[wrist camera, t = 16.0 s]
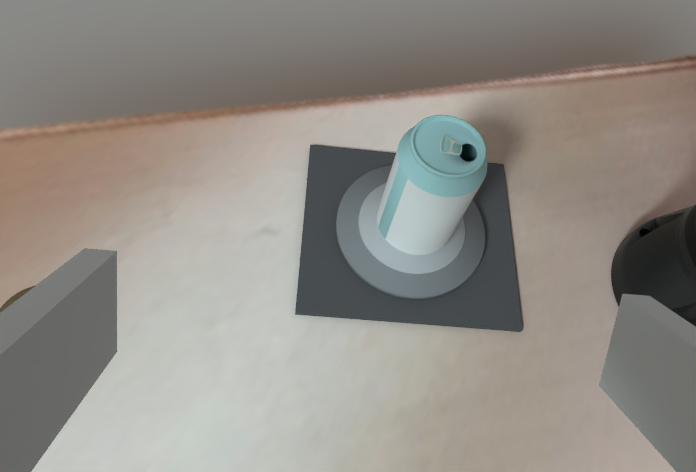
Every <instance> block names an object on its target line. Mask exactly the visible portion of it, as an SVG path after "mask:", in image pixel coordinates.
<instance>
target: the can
mask: <svg viewBox="0 0 696 472" xmlns="http://www.w3.org/2000/svg"><path fill="white" fill-rule="evenodd" d="M486 173H487V158H486V145H485V142H484V140H483V138H482V136H481V135H480V133H479V132H478V131H477V130H476V129H475V128H474V127H473V126H472V125H470V124H469V123H467V122H466V121H464V120H462V119H459V118H457V117H453V116H448V115H435V116H431V117H428V118H425V119H423V120H422V121H420V122H419V123H418V124H417V125H416V126H415V127H413V128H411V129H410V130H409V131H408V132H407V133H406V134H405V135H404V136H403V137H402V139H401V141H400V143H399V146H398V149H397V152H396V155H395V158H394V162H393V165H392V168H391V171H390V174H389V177H388V180H387V183H386V186H385V190H384V193H383V196H382V199H381V202H380V205H379V208H378V212H377V224H378V227H379V230H380V232H381V234H382V235H383V237H384V238H385V240H386V241H387V242H388V243H389V244H390V245H392V246H393V247H395V248H396V249H398V250H400V251H402V252H404V253H408V254H412V255H427V254H431V253H434V252H436V251H438V250H440V249H441V248H443V247H444V246H445V245H446V243H447V242H448V241H449V239H450V237H451V236H452V234H453V232H454V230H455V229H456V227H457V225H458V224H459V222H460V220H461V218H462V217H463V215H464V213H465V212H466V210H467V208H468V206H469V205H470V203H471V201H472V199H473V198H474V196H475V194H476V193H477V191H478V189H479V187H480V186H481V184H482V182H483V180H484V178H485V176H486Z"/></svg>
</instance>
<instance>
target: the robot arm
mask: <svg viewBox="0 0 696 472" xmlns="http://www.w3.org/2000/svg"><path fill="white" fill-rule="evenodd" d="M611 279H612V286H613V291H614V295H615V298H616V301H617V303H618V306H619V309H618V313H617V317H616V321H615V325H614V329H613V333H612V337H611V341H610V345H609V349H608V353H607V356H606V360H605V364H604V368H603V372H602V376H601V380H600V384H599V386H600V387H601V388H602V389H603V390H604V392H605V393H606V394H607V395H608V396H609V397H610V398H611V399H612V400H613V402H614V403H615V404H616V405H617V406H618V407H619V408H620V409H621V410H622V412H623V413H624V414H625V415H626V416H627V417H628V418H629V419H630V420H631V422H632V423H633V424H634V425H635V426H636V427H637V428H638V429H639V430H640V432H641V433H642V434H643V435H644V436H645V437H646V438H647V439H648V440H649V442H650V443H651V444H652V445H653V446H654V447H655V448H656V449H657V450H658V452H659V453H660V454H661V455H662V456H663V457H664V458H665V459H666V460H667V462H668V463H669V464H670V465H671V466H672V467H673V468H674V469H675V470H676V472H696V205H695V206H692V207H688V208H685V209H682V210H679V211H676V212H673V213H670V214H667V215H664V216H661V217H658V218H655V219H652V220H650V221H648V222H646V223H644V224H643V225H641V226H640V227H638V228H637V229H636V230H635V231H634V232H633V233H632V234H630V235H629V236H628V237H627V238H626V239H625V240H624V241H623V242H622V243H621V245H620V246H619V247H618V249H617V251H616V253H615V256H614V259H613V263H612V270H611ZM116 352H117V251H110V250H98V249H86V248H85V249H84V250H82V251H81V252H80V253H78V254H77V255H76V256H74V257H73V258H72V259H70V260H69V261H68V262H66V263H65V264H64V265H62V266H61V267H60V268H59V269H57V270H56V271H55V272H53V273H52V274H51V275H49V276H48V277H47V278H45V279H44V280H43V281H41V282H40V283H39V284H37V285H36V286H35V287H34V288H32V289H31V290H30V291H28V292H27V293H26V294H24V295H23V296H22V297H20V298H19V299H18V300H16V301H15V302H14V303H12V304H11V305H10V306H8V307H7V308H6V309H5V310H3V311H2V312H1V313H0V472H31V471H32V469H33V468H34V467H35V465H36V464H37V463H38V461H39V460H40V458H41V457H42V456H43V454H44V453H45V451H46V450H47V449H48V447H49V446H50V444H51V443H52V442H53V440H54V439H55V437H56V436H57V435H58V433H59V432H60V430H61V429H62V428H63V426H64V425H65V423H66V422H67V421H68V419H69V418H70V416H71V415H72V414H73V412H74V411H75V409H76V408H77V407H78V405H79V404H80V402H81V401H82V400H83V398H84V397H85V395H86V394H87V393H88V391H89V390H90V389H91V387H92V386H93V384H94V383H95V382H96V380H97V379H98V377H99V376H100V375H101V373H102V372H103V370H104V369H105V368H106V366H107V365H108V363H109V362H110V361H111V359H112V358H113V356H114V355H115V354H116Z"/></svg>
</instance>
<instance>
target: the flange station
mask: <svg viewBox="0 0 696 472" xmlns="http://www.w3.org/2000/svg"><path fill="white" fill-rule="evenodd" d="M395 155H396V153H387V152H377V151H367V150H357V149H347V148H337V147H327V146H317V145H310V156H309V167H308V178H307V189H306V201H305V212H304V223H303V234H302V245H301V257H300V268H299V279H298V290H297V302H296V313H295V314H298V315H311V316H324V317H337V318H349V319H362V320H375V321H388V322H401V323H414V324H427V325H440V326H453V327H466V328H479V329H492V330H504V331H517V332H521V331H522V330H523V329H522V321H521V312H520V303H519V295H518V286H517V277H516V269H515V260H514V252H513V243H512V234H511V226H510V217H509V209H508V200H507V191H506V183H505V174H504V166H503V164H496V163H487V173H486V176H485V178H484V180H483V182H482V184H481V186H480V187H479V189H478V191H477V193H476V194H475V196H474V198H473V199H472V201H471V203H470V205H469V206H468V208H467V210H466V212H465V213H464V215H463V217H462V218H461V220H460V222H459V224H458V225H457V227H456V229H455V230H454V232H453V234H452V236H451V237H450V239H449V241H448V242H447V243H446V245H445V246H444V247H443V248H441V249H440V250H438V251H436V252H434V253H431V254H427V255H412V254H408V253H404V252H402V251H400V250H398V249H396V248H395V247H393V246H392V245H390V244H389V243H388V242H387V241H386V240H385V238H384V237H383V235H382V234H381V232H380V230H379V227H378V224H377V212H378V208H379V205H380V202H381V199H382V196H383V193H384V190H385V186H386V183H387V180H388V177H389V174H390V171H391V168H392V165H393V162H394V158H395Z"/></svg>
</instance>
